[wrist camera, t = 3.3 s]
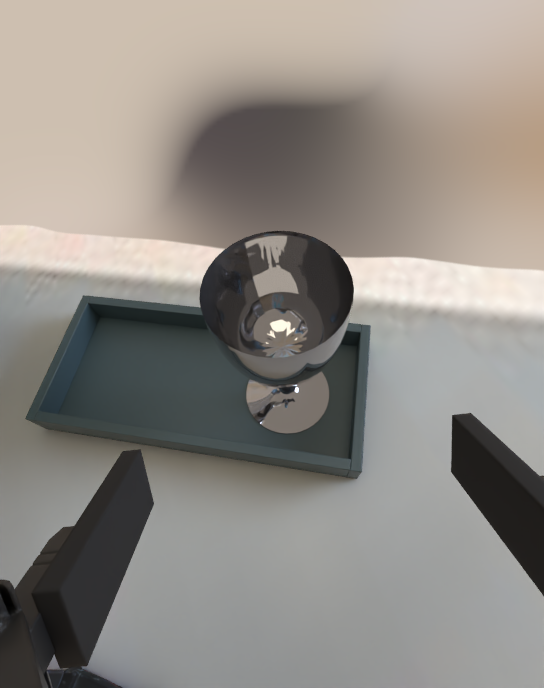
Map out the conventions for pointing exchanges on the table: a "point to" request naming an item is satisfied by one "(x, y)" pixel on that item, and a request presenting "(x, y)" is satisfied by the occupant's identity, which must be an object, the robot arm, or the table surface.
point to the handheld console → (78, 679)
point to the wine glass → (279, 322)
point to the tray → (190, 390)
